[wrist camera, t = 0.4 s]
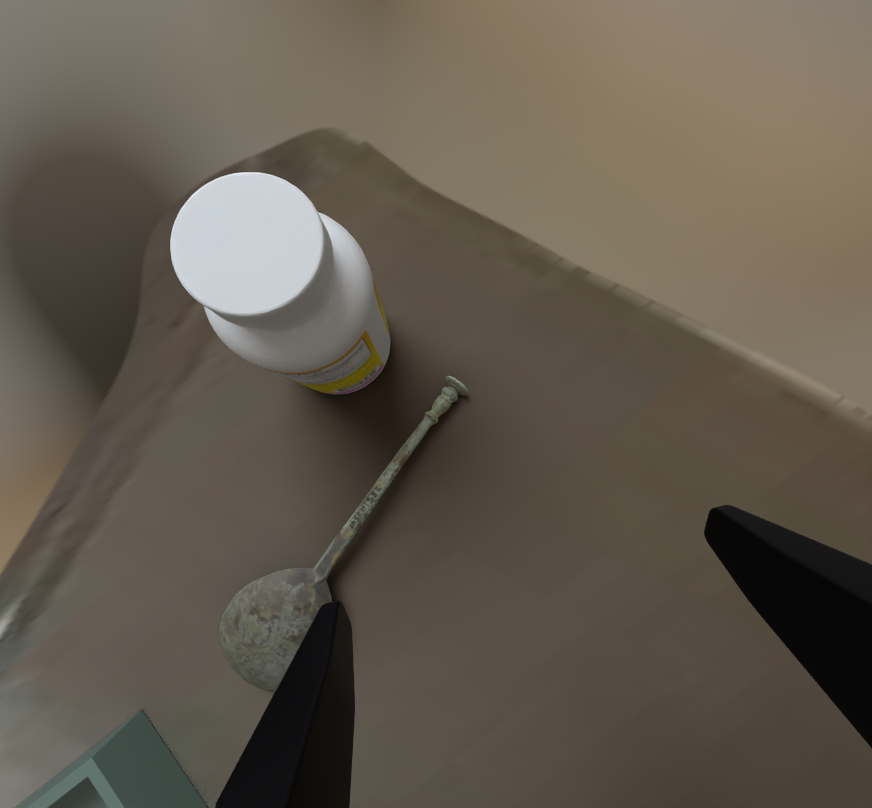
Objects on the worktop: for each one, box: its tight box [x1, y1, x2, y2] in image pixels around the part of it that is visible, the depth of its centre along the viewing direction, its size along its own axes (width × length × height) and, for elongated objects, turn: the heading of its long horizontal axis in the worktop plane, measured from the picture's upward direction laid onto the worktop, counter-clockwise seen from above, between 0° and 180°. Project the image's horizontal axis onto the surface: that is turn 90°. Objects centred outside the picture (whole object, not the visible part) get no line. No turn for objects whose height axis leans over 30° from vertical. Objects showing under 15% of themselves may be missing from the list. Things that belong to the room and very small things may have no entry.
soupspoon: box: [219, 376, 468, 691], centre depth 22 cm, size 22×3×7 cm
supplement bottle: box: [170, 172, 390, 394], centre depth 18 cm, size 7×7×13 cm
